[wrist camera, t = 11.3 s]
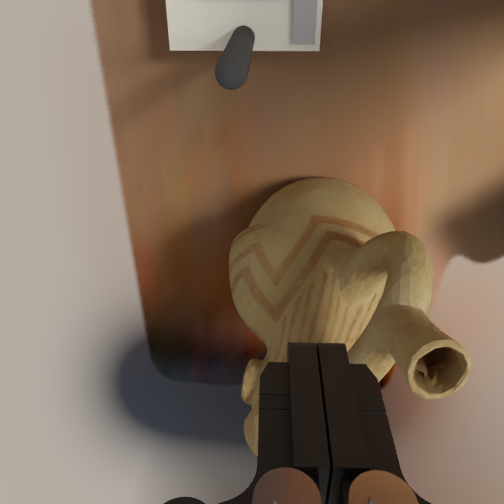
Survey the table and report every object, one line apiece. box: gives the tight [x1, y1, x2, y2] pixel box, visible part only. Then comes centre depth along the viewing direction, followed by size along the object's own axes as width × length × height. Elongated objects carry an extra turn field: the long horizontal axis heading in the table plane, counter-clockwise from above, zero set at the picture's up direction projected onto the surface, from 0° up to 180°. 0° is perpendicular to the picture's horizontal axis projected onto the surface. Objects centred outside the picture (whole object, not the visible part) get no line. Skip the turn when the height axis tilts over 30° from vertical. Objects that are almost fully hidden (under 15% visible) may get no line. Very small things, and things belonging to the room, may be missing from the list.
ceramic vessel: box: [229, 177, 471, 457], centre depth 35 cm, size 17×20×25 cm
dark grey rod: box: [215, 25, 255, 90], centre depth 28 cm, size 2×2×14 cm
